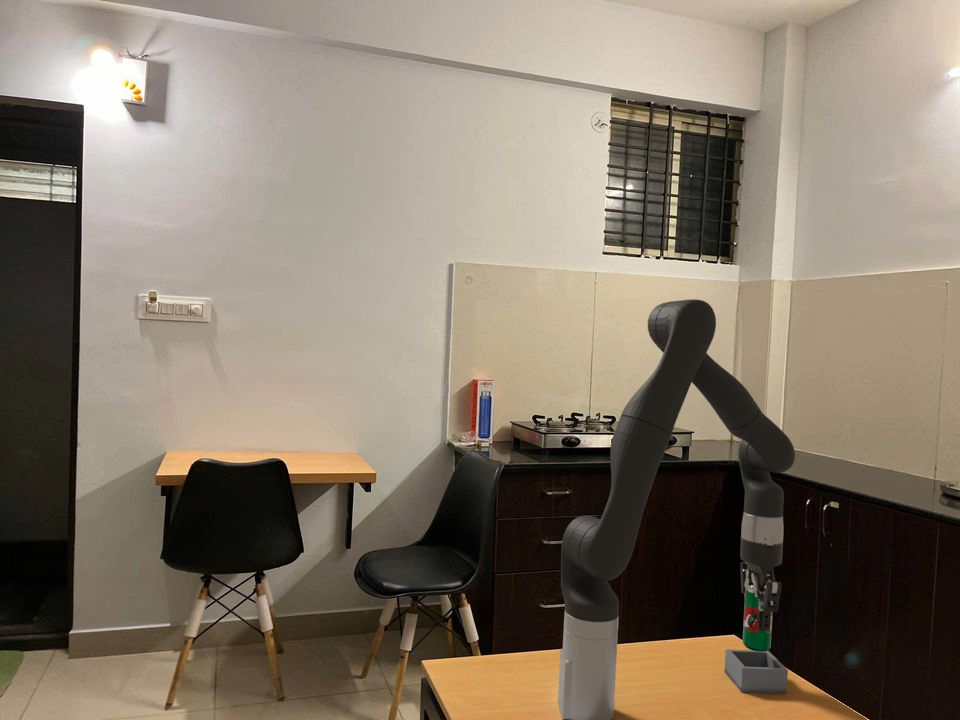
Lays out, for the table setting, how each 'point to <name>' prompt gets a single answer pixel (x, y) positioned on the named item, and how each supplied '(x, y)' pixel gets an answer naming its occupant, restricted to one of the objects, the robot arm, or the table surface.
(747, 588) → the soda can
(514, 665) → the table surface
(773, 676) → the grey hollow square box
